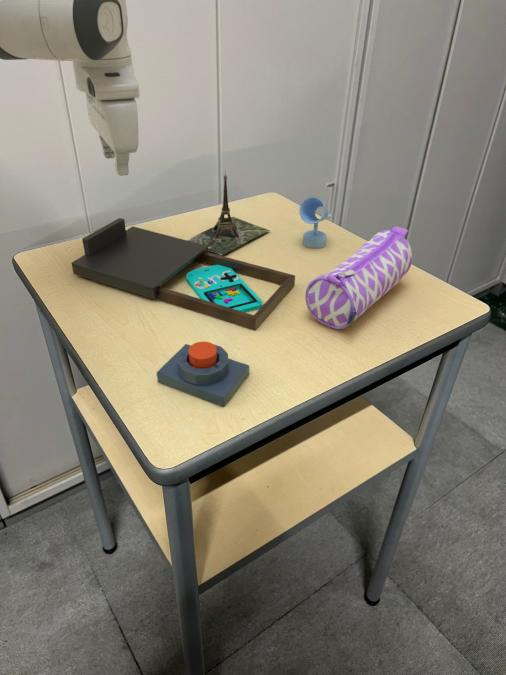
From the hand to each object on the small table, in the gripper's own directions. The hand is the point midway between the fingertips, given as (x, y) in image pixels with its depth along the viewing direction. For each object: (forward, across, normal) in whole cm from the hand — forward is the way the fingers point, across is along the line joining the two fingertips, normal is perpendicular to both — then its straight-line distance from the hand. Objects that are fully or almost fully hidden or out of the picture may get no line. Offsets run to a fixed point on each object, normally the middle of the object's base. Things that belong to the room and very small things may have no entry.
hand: (115, 165), depth 88 cm
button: (+13, +41, 0) cm, 42 cm away
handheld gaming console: (+16, +21, +11) cm, 28 cm away
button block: (+16, +40, 0) cm, 44 cm away
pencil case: (+16, +33, +30) cm, 47 cm away
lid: (+16, +8, +1) cm, 18 cm away
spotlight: (+16, +12, +34) cm, 39 cm away
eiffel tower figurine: (+16, +3, +20) cm, 25 cm away
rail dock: (+16, +15, +6) cm, 23 cm away
